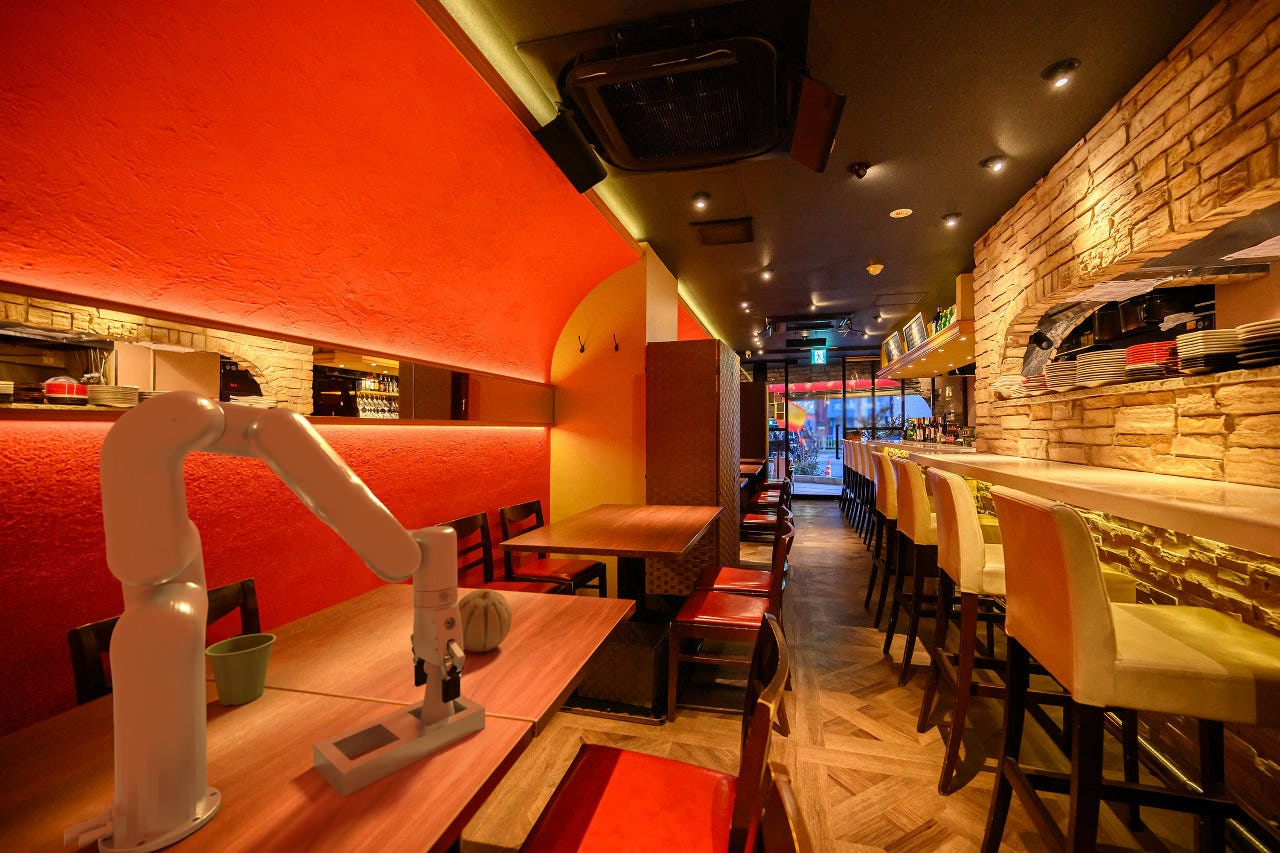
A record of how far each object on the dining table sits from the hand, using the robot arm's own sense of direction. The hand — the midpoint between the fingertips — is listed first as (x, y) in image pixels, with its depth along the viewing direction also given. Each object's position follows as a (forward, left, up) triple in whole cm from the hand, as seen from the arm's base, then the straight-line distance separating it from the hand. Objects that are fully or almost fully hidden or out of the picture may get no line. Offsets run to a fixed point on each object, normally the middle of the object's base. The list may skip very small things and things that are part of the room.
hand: (437, 691), depth 96 cm
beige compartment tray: (-6, 0, -7) cm, 9 cm away
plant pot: (-19, +44, -7) cm, 49 cm away
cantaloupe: (+26, +26, -7) cm, 37 cm away
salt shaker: (0, 0, -7) cm, 7 cm away
